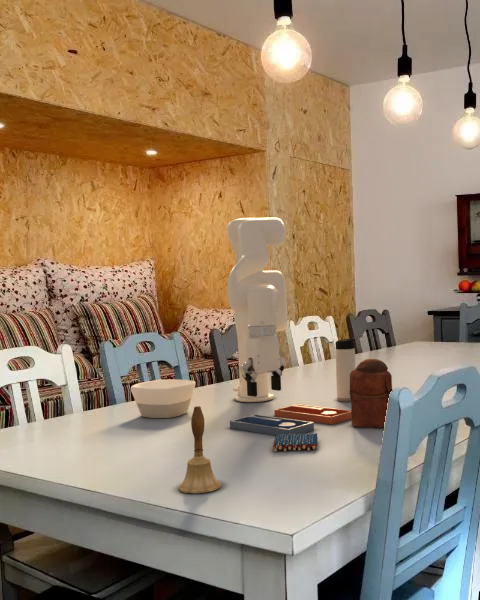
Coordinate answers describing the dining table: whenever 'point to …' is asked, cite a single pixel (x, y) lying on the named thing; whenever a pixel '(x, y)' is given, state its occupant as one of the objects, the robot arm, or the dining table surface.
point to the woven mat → (295, 441)
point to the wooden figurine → (370, 393)
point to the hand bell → (198, 462)
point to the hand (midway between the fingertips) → (264, 393)
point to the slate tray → (298, 429)
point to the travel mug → (344, 367)
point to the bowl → (163, 397)
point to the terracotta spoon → (312, 410)
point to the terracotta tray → (340, 416)
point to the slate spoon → (269, 422)
